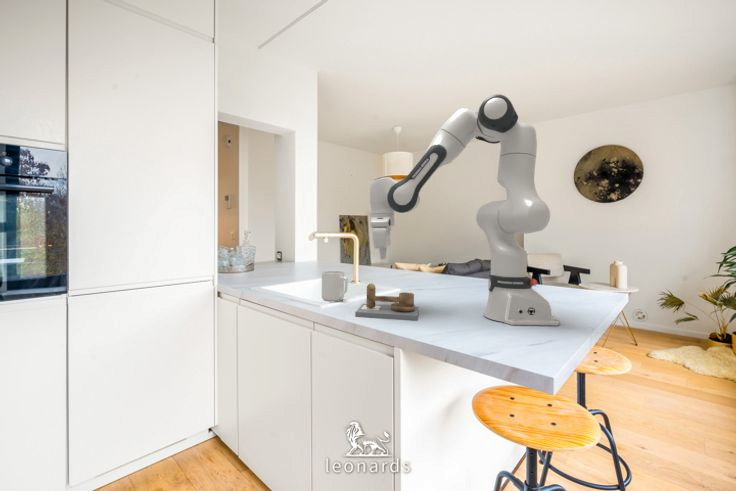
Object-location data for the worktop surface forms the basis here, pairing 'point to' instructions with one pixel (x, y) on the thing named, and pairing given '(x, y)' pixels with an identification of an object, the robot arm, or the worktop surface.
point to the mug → (333, 285)
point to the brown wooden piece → (391, 300)
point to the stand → (386, 312)
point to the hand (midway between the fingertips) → (383, 258)
